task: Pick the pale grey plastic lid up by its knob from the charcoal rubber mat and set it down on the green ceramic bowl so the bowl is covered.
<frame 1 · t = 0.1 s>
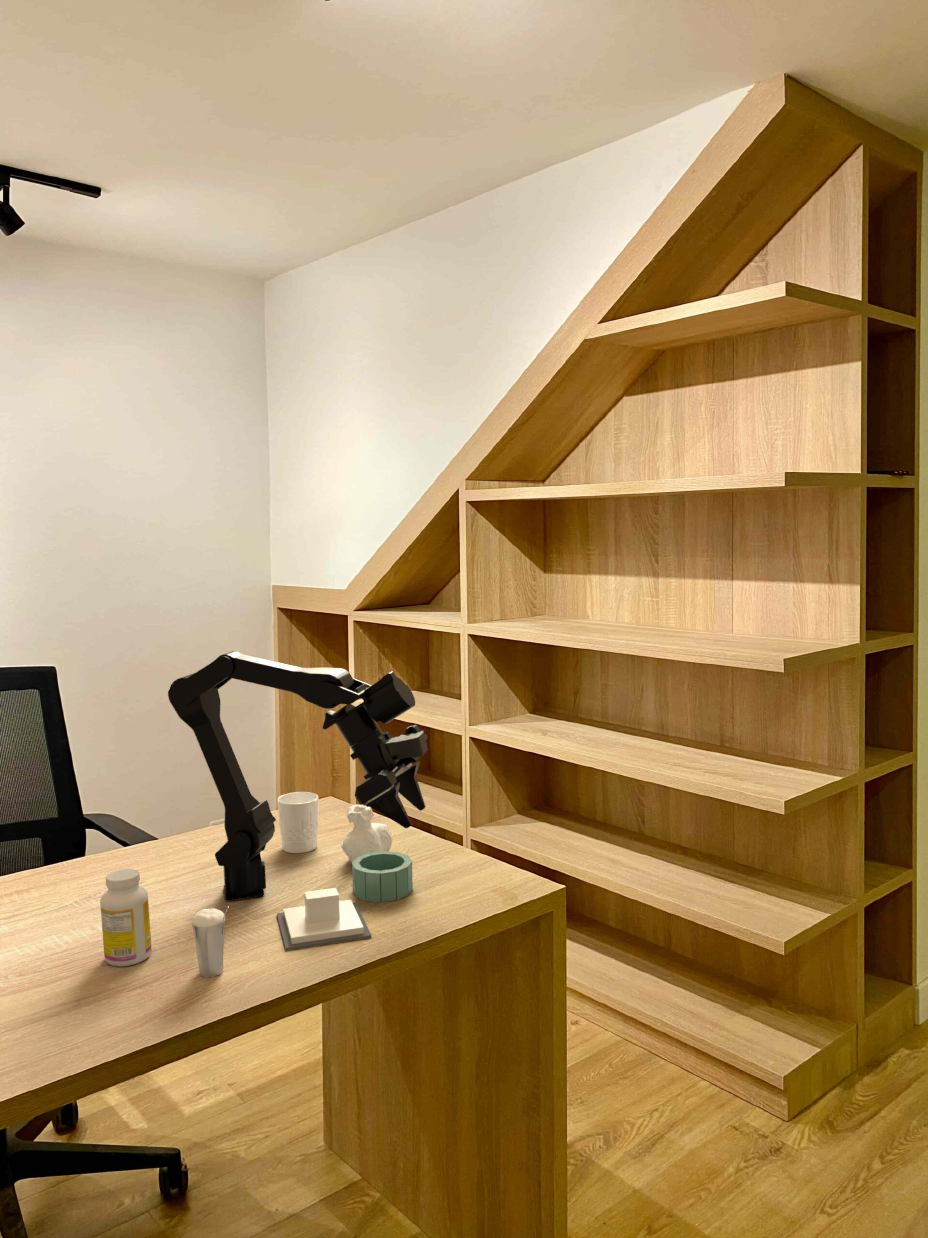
hand: (416, 817, 155), 15 cm above the table, tool tilted 30°, fingers open, 9 cm apart
bust: (365, 859, 179), on the table
milkshake: (214, 974, 135), on the table
supplement bottle: (128, 959, 140), on the table
bowl: (382, 890, 163), on the table
lid: (322, 908, 149), on the mat
white cup: (300, 848, 185), on the table
mat: (322, 926, 150), on the table
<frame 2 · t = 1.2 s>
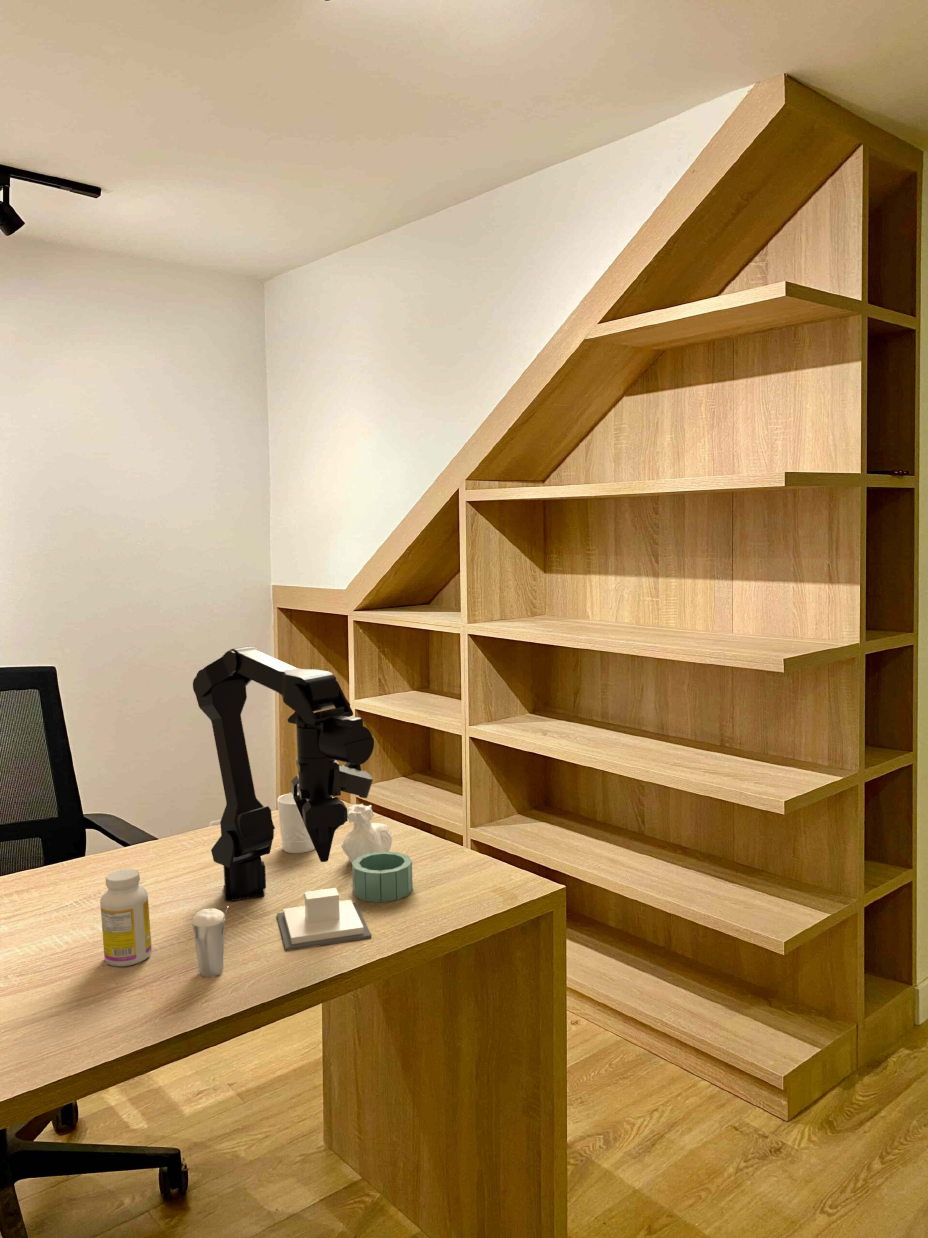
hand: (319, 851, 148), 12 cm above the table, tool pointing down, fingers open, 9 cm apart
nothing on the table moved.
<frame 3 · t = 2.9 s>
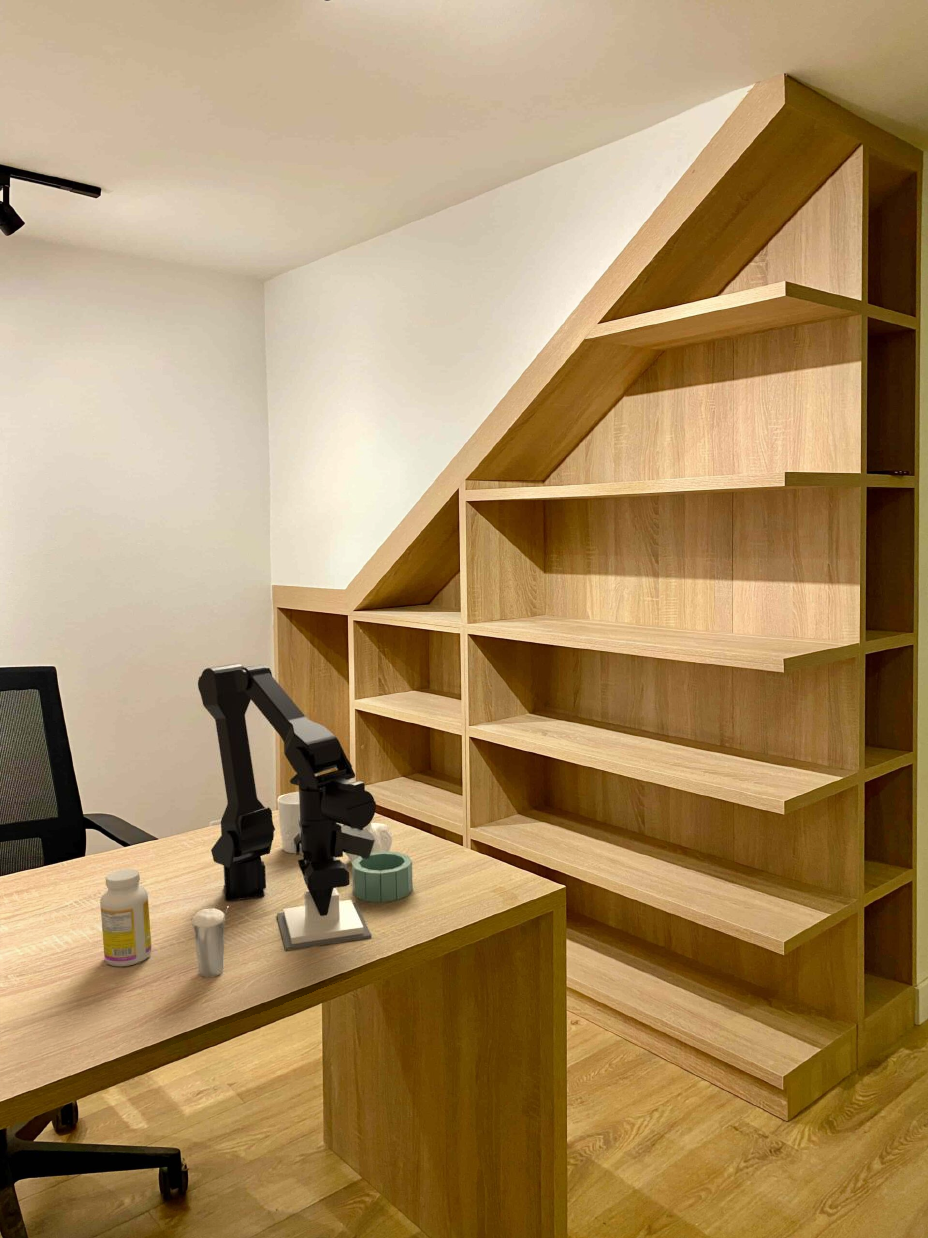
hand: (322, 911, 149), 3 cm above the table, tool pointing down, fingers closed on lid, 3 cm apart
lid: (322, 908, 149), on the mat, touching gripper
everything else where it was.
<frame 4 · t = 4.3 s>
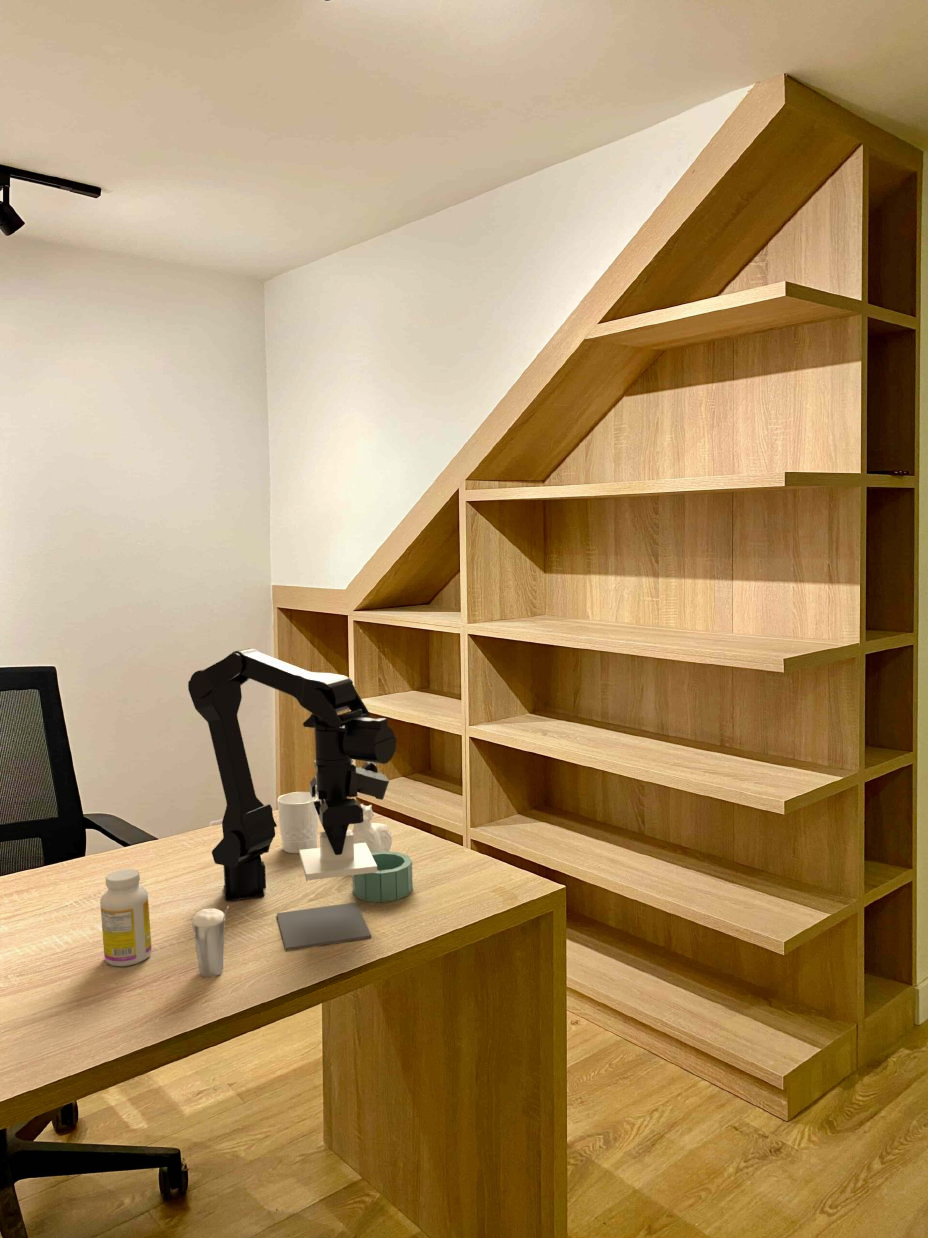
hand: (337, 851, 152), 11 cm above the table, tool pointing down, fingers closed on lid, 3 cm apart
lid: (336, 848, 152), point 11 cm above the table, touching gripper
everything else where it was.
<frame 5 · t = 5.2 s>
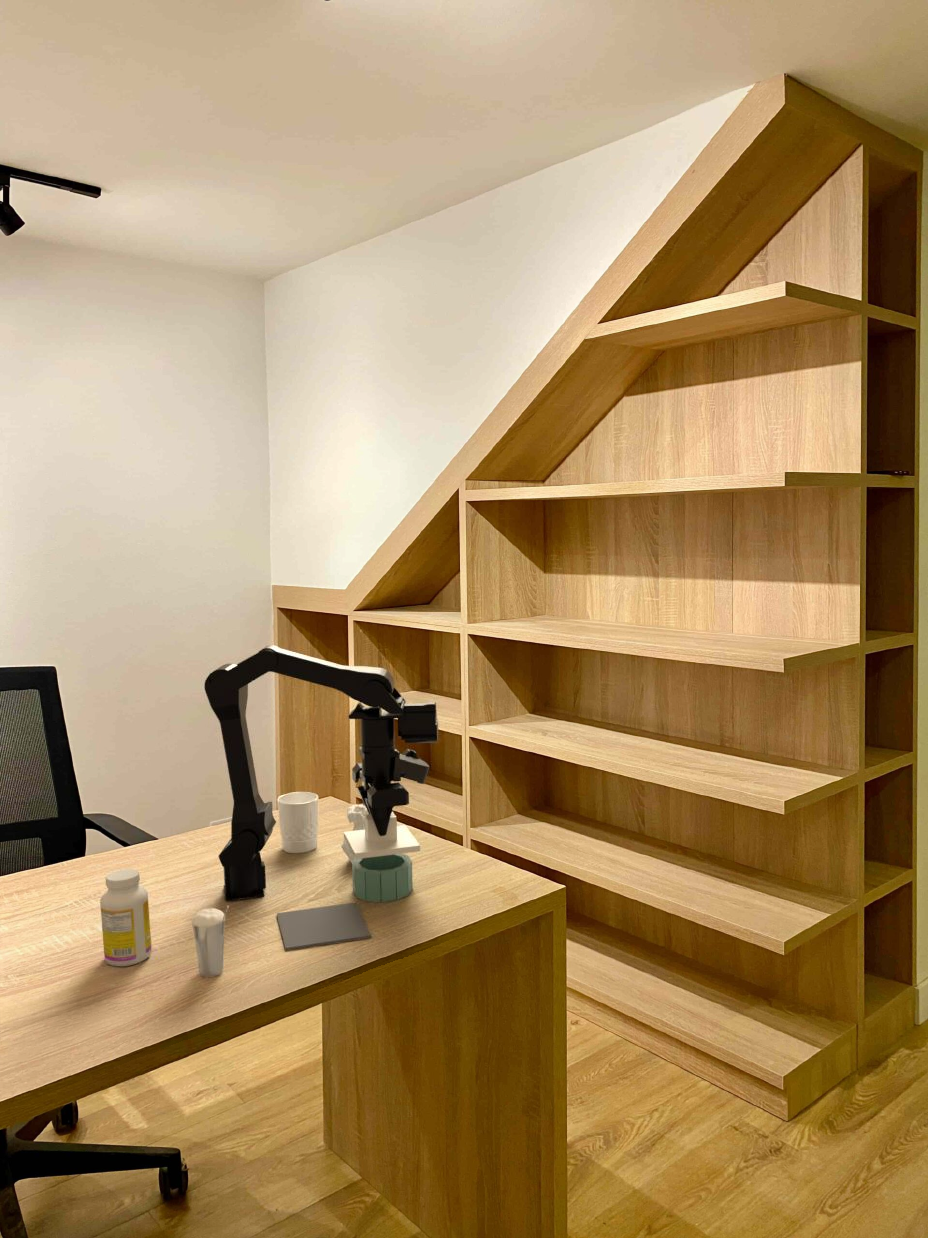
hand: (380, 832, 162), 10 cm above the table, tool pointing down, fingers closed on lid, 3 cm apart
lid: (380, 830, 162), point 11 cm above the table, touching gripper
everything else where it was.
when the fingers open (9 cm above the table, at t = 5.7 s): lid drops 2 cm, resting on bowl.
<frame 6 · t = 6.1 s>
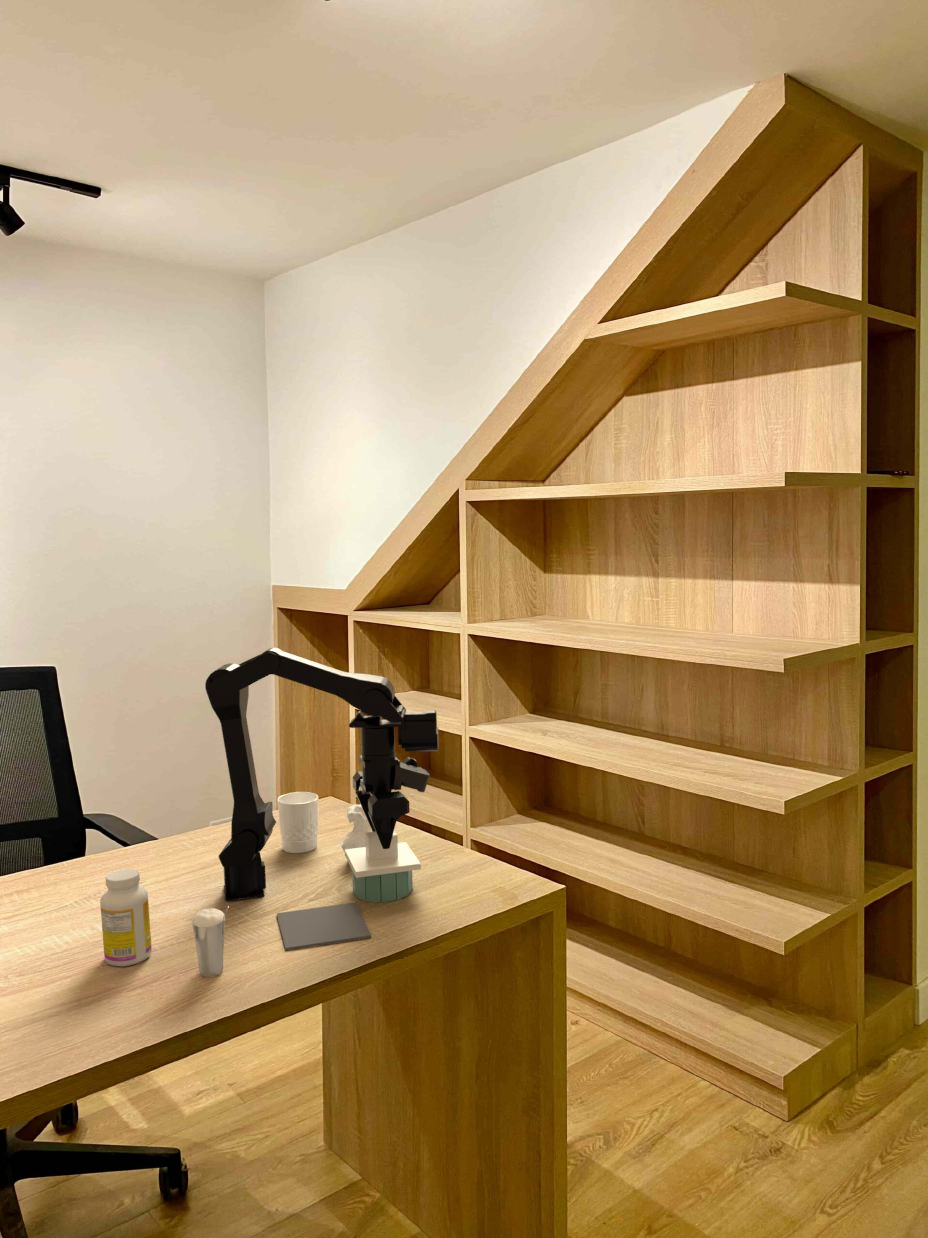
hand: (381, 840, 162), 9 cm above the table, tool pointing down, fingers open, 8 cm apart
lid: (381, 848, 163), on the bowl, point 8 cm above the table
everything else where it was.
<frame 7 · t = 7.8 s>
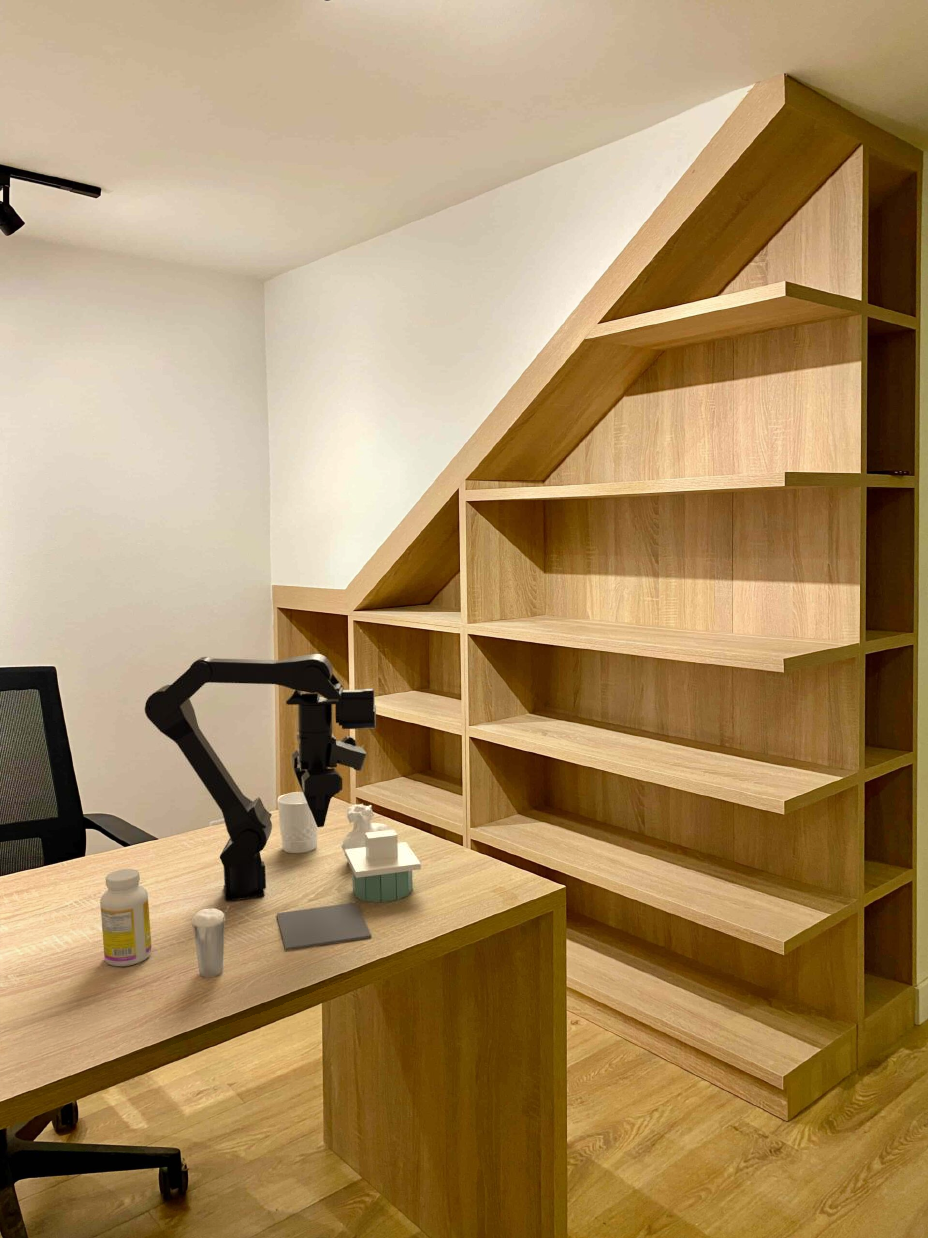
hand: (316, 818, 163), 13 cm above the table, tool pointing down, fingers open, 9 cm apart
nothing on the table moved.
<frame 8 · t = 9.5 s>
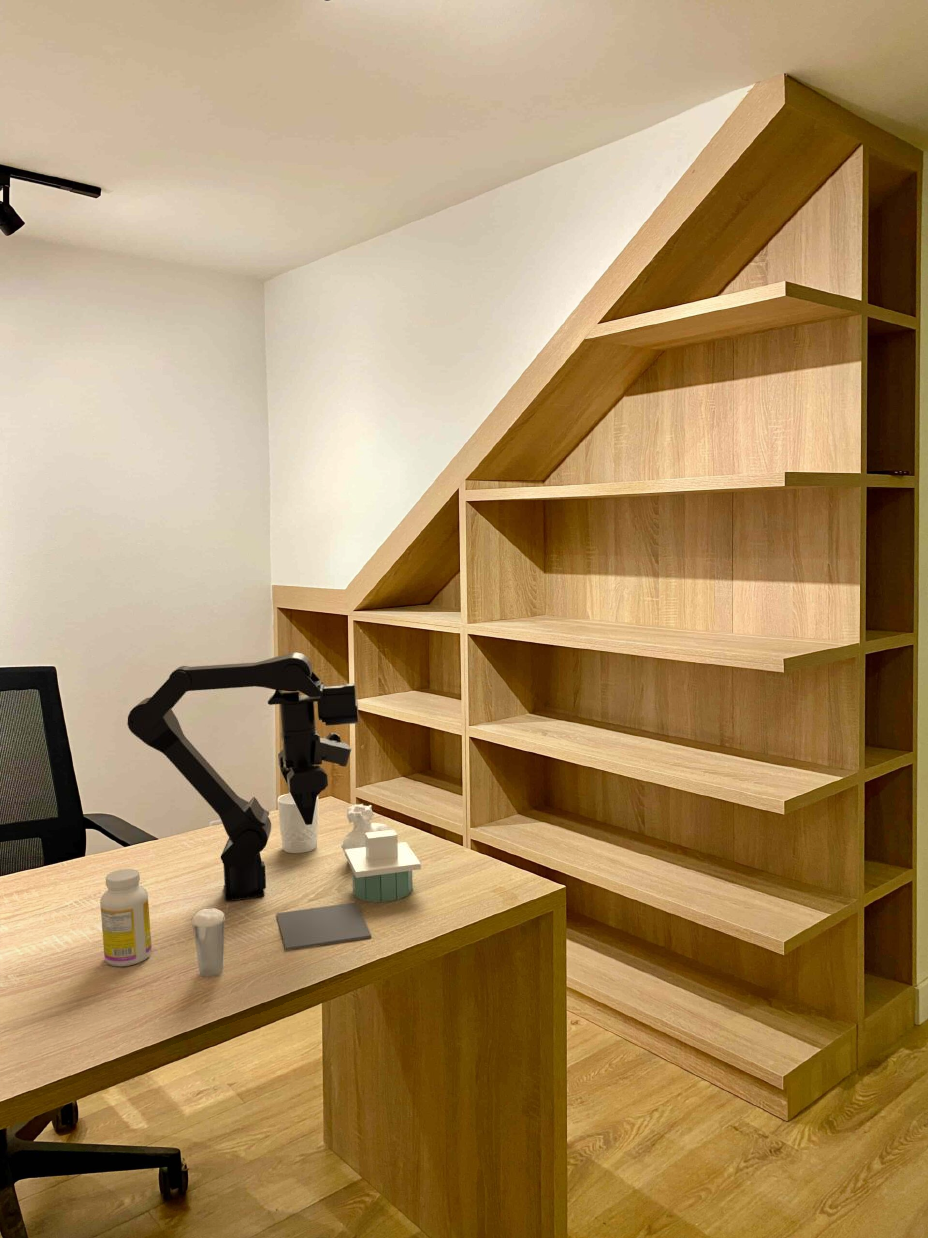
hand: (305, 816, 163), 13 cm above the table, tool pointing down, fingers open, 9 cm apart
nothing on the table moved.
at the end: lid 0.0 cm off-centre on the bowl, point 7.5 cm above the bowl's base; lid tilted 0°; the gripper is holding nothing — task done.
